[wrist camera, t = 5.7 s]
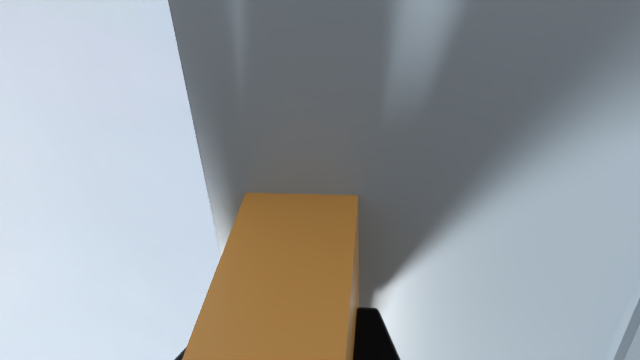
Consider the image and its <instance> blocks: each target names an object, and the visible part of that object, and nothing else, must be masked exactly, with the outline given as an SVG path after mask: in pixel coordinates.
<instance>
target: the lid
mask: <svg viewBox="0 0 640 360" xmlns="http://www.w3.org/2000/svg"><path fill="white" fill-rule="evenodd" d="M168 2H169V7H170V12H171V17H172V21H173V26H174V31H175V36H176V41H177V46H178V51H179V56H180V60H181V65H182V70H183V75H184V80H185V85H186V90H187V94H188V99H189V104H190V109H191V114H192V119H193V124H194V129H195V133H196V138H197V143H198V148H199V153H200V158H201V163H202V168H203V172H204V177H205V182H206V187H207V192H208V197H209V202H210V206H211V211H212V216H213V221H214V226H215V231H216V236H217V241H218V245H219V250H220V255H221V258H220V261H219V264H218V266H217V269H216V272H215V274H214V277H213V279H212V282H211V285H210V287H209V290H208V293H207V295H206V298H205V300H204V303H203V306H202V308H201V311H200V314H199V316H198V319H197V321H196V324H195V327H194V329H193V332H192V335H191V337H190V340H189V342H188V345H187V348H186V350H185V353H184V356H183V358H182V360H353V353H354V340H355V327H356V314H357V308H359V307H368V308H377V309H378V310H379V312H380V314H381V316H382V319H383V321H384V323H385V325H386V328H387V330H388V332H389V335H390V337H391V339H392V341H393V344H394V346H395V348H396V350H397V353H398V355H399V357H400V360H640V0H168Z"/></svg>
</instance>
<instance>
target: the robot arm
mask: <svg viewBox="0 0 640 360" xmlns="http://www.w3.org/2000/svg"><path fill="white" fill-rule="evenodd" d="M186 348H187V347H186ZM186 348H185V349H184V350H183V351H182V352H181V353H180V354H179V355H178V357H177V358H176V359H175V360H182V358H183V356H184V353H185V350H186ZM353 360H400V357H399V355H398V353H397V350H396V348H395V346H394V344H393V341H392V339H391V337H390V335H389V332H388V330H387V328H386V325H385V323H384V321H383V319H382V316H381V314H380V312H379V310H378V309H377V308H368V307H359V308H357V314H356V327H355V340H354V353H353Z"/></svg>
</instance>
